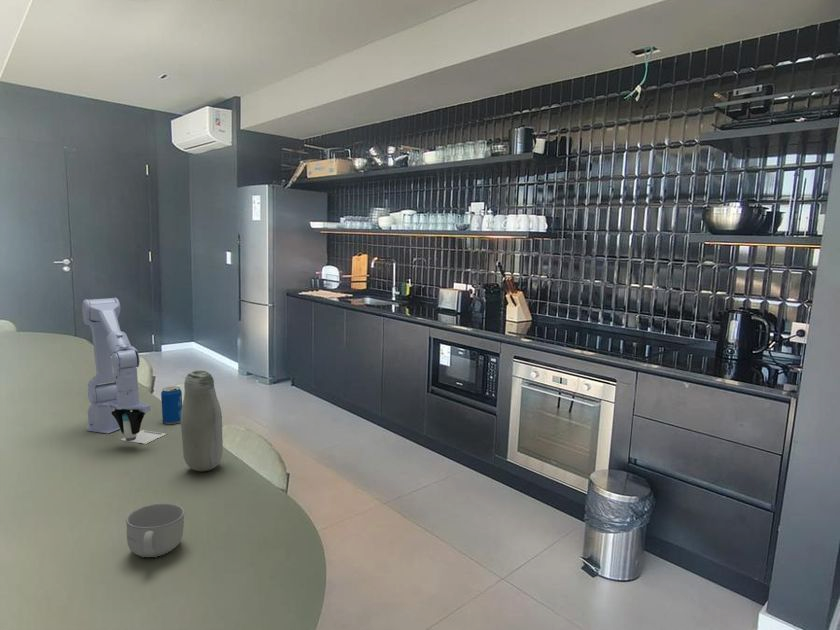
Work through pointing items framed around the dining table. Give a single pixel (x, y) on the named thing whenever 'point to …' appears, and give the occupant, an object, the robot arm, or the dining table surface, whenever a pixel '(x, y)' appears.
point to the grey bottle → (201, 422)
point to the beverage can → (171, 404)
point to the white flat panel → (145, 437)
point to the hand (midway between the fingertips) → (130, 432)
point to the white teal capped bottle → (127, 428)
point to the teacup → (155, 529)
